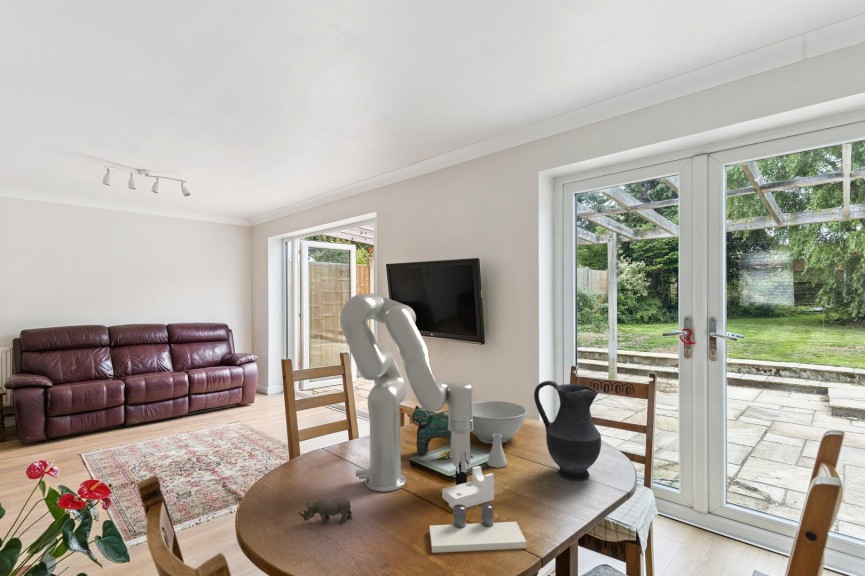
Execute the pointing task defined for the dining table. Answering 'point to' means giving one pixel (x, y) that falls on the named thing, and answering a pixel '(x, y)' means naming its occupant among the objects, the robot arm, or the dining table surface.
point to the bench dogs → (485, 515)
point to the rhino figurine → (328, 509)
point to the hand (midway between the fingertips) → (461, 484)
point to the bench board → (476, 537)
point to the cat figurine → (429, 427)
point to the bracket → (471, 490)
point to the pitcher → (571, 430)
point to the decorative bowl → (497, 420)
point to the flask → (497, 453)
